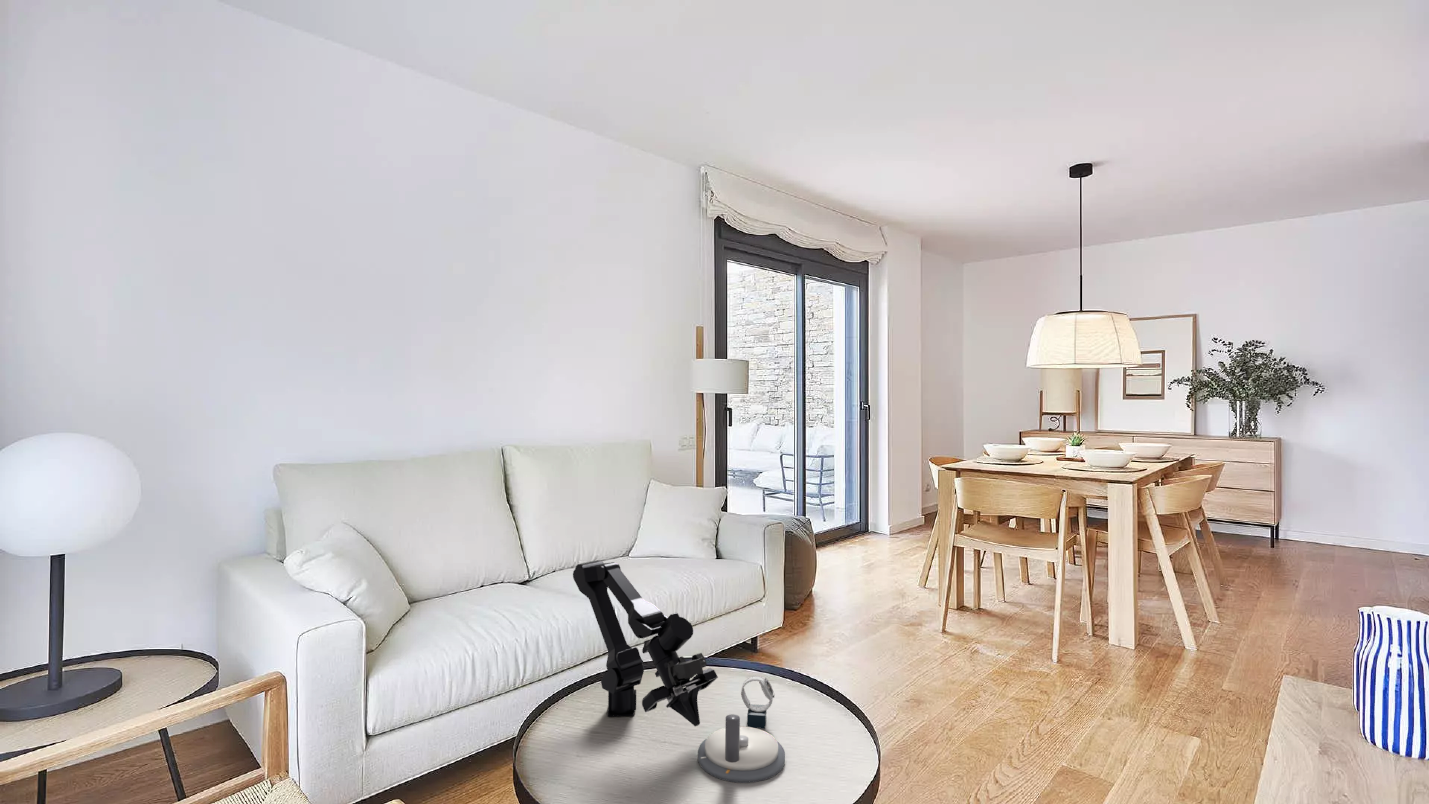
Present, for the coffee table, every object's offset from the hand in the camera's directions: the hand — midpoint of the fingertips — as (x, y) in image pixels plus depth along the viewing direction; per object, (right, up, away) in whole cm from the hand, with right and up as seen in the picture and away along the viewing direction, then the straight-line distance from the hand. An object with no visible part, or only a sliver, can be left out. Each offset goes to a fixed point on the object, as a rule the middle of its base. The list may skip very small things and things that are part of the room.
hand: (697, 725), depth 162 cm
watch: (+14, -6, +15) cm, 22 cm away
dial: (+10, -5, -1) cm, 11 cm away
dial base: (+10, -7, -1) cm, 12 cm away
